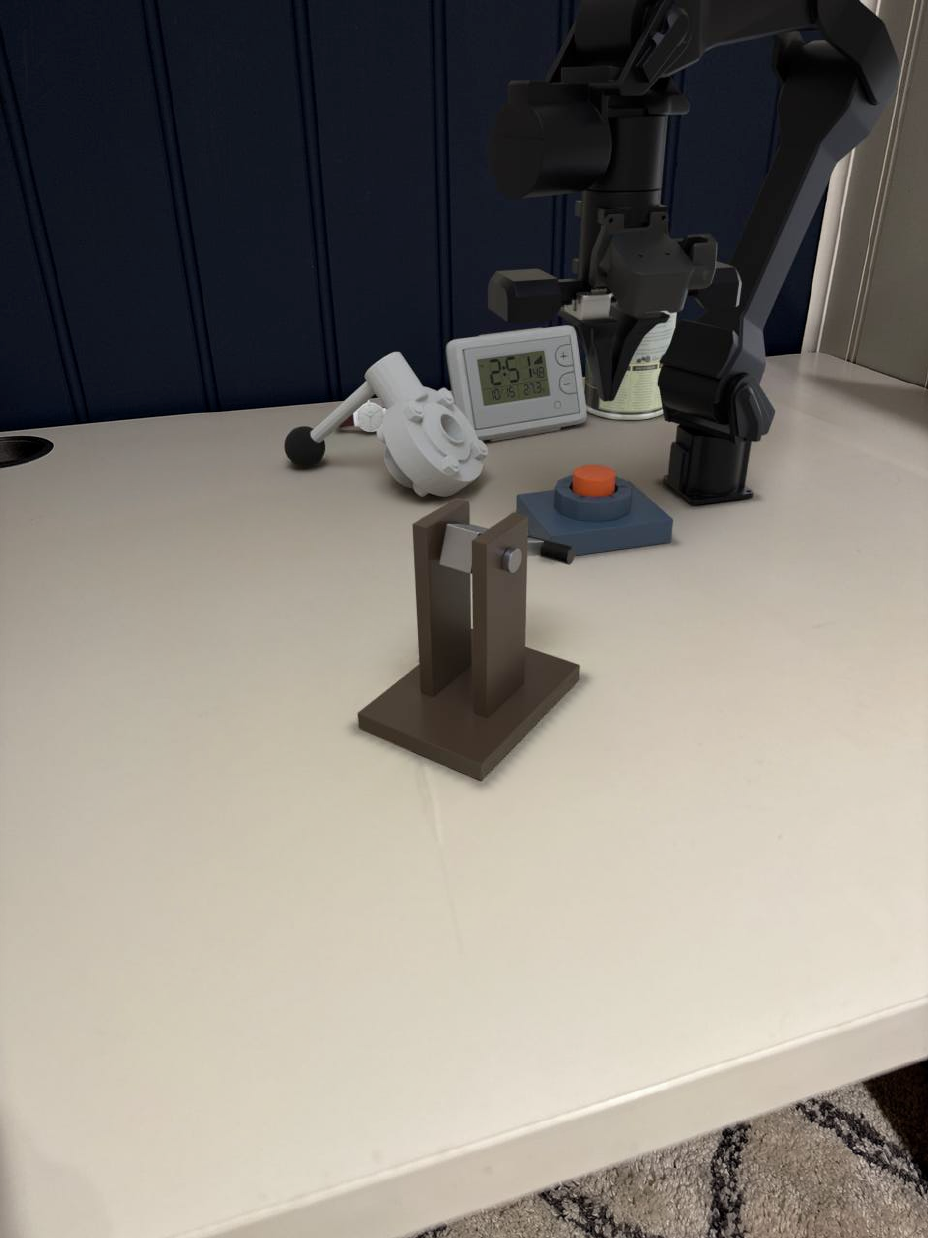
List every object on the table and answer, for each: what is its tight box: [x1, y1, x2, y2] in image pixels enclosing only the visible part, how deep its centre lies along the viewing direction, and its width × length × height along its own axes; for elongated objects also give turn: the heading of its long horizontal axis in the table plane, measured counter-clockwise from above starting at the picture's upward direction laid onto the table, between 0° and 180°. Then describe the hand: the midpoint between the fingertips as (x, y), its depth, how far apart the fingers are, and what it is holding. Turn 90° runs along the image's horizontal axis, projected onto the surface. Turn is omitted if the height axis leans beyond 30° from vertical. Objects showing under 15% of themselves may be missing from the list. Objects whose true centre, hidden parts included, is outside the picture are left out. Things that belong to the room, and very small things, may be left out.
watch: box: [337, 399, 386, 433], centre depth 103 cm, size 8×5×4 cm, turn 104°
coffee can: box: [583, 289, 678, 421], centre depth 105 cm, size 10×10×14 cm
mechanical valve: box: [283, 351, 489, 498], centre depth 89 cm, size 10×18×15 cm
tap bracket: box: [357, 497, 581, 781], centre depth 54 cm, size 12×9×13 cm
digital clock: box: [445, 325, 588, 443], centre depth 100 cm, size 16×9×11 cm, turn 103°
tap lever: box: [439, 523, 576, 575], centre depth 55 cm, size 10×5×2 cm, turn 146°
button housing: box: [515, 474, 674, 557], centre depth 78 cm, size 11×9×4 cm
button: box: [572, 464, 617, 497], centre depth 77 cm, size 4×4×2 cm
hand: (606, 400), depth 73 cm, fingers closed
